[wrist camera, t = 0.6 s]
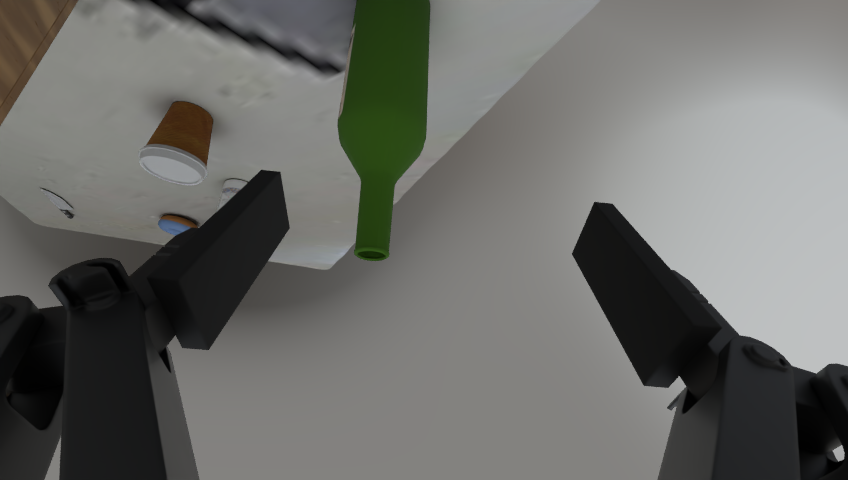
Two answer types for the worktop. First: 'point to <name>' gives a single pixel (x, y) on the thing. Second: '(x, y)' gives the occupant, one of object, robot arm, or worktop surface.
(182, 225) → the doughnut
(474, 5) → the worktop surface
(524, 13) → the worktop surface
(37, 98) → the worktop surface
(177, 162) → the disposable coffee cup
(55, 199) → the chef's knife
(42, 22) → the cabinet
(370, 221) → the wine bottle
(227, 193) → the bath foam
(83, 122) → the worktop surface
